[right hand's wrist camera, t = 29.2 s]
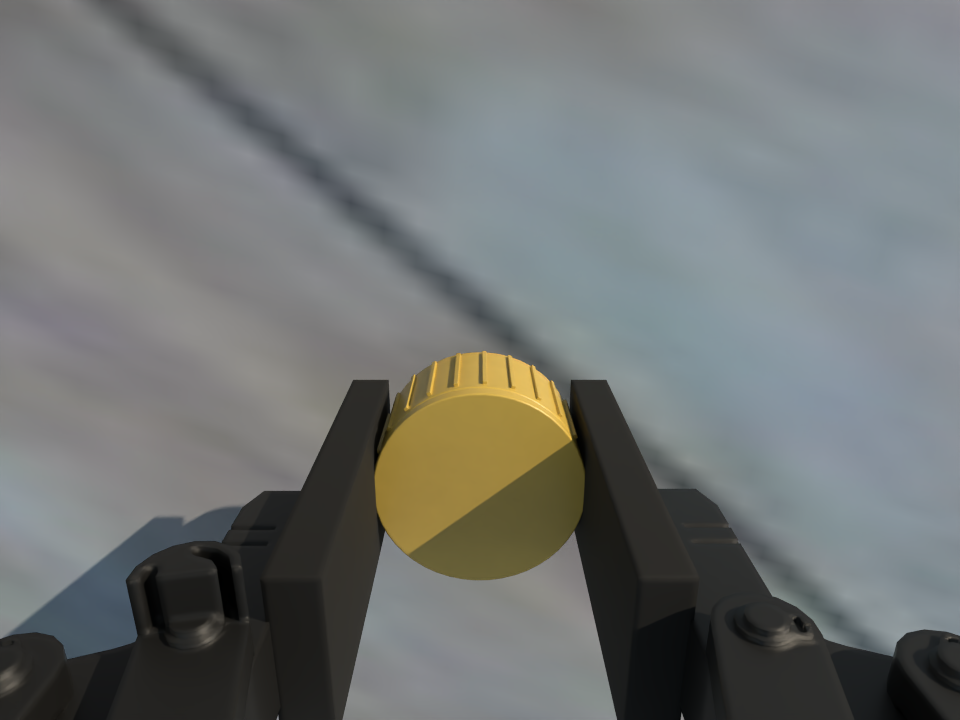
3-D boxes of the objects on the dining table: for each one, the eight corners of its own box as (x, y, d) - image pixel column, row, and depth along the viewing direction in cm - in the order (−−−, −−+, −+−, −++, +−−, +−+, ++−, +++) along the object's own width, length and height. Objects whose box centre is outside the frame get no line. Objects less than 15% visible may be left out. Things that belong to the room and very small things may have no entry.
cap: (577, 511, 15) (592, 575, 13) (398, 524, 15) (385, 590, 13) (570, 341, 14) (586, 382, 12) (373, 357, 14) (354, 400, 12)
